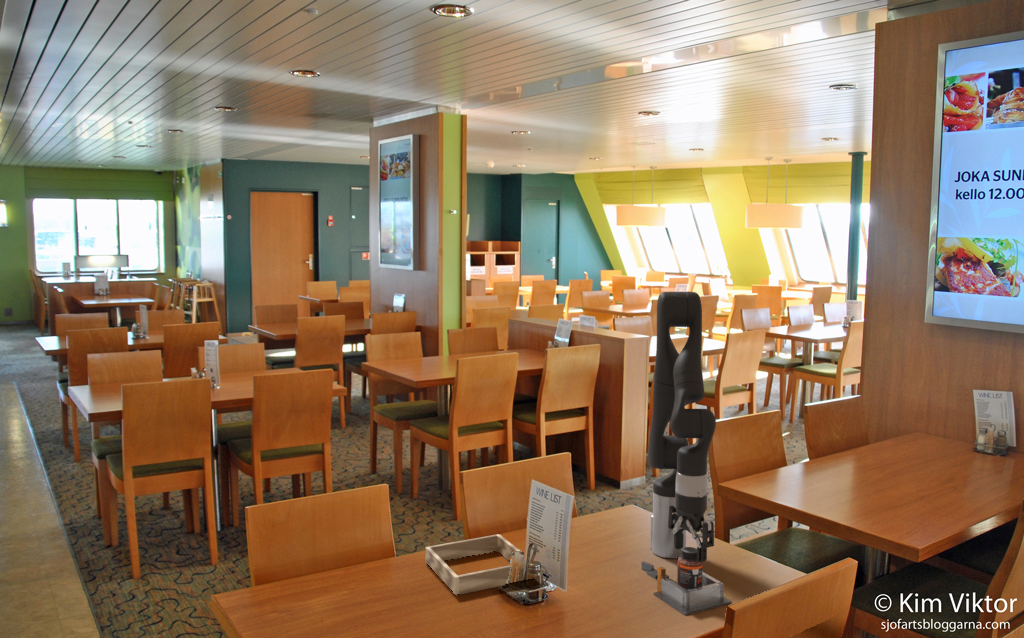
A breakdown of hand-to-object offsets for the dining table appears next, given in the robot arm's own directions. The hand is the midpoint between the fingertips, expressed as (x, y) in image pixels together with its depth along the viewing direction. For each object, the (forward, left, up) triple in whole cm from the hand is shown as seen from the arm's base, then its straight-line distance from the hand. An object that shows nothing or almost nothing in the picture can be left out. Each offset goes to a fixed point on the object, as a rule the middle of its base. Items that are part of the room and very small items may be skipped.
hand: (689, 554), depth 184 cm
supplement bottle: (0, 0, -10) cm, 10 cm away
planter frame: (-37, -40, -11) cm, 55 cm away
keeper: (0, 0, -11) cm, 11 cm away
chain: (-12, 0, -11) cm, 16 cm away
